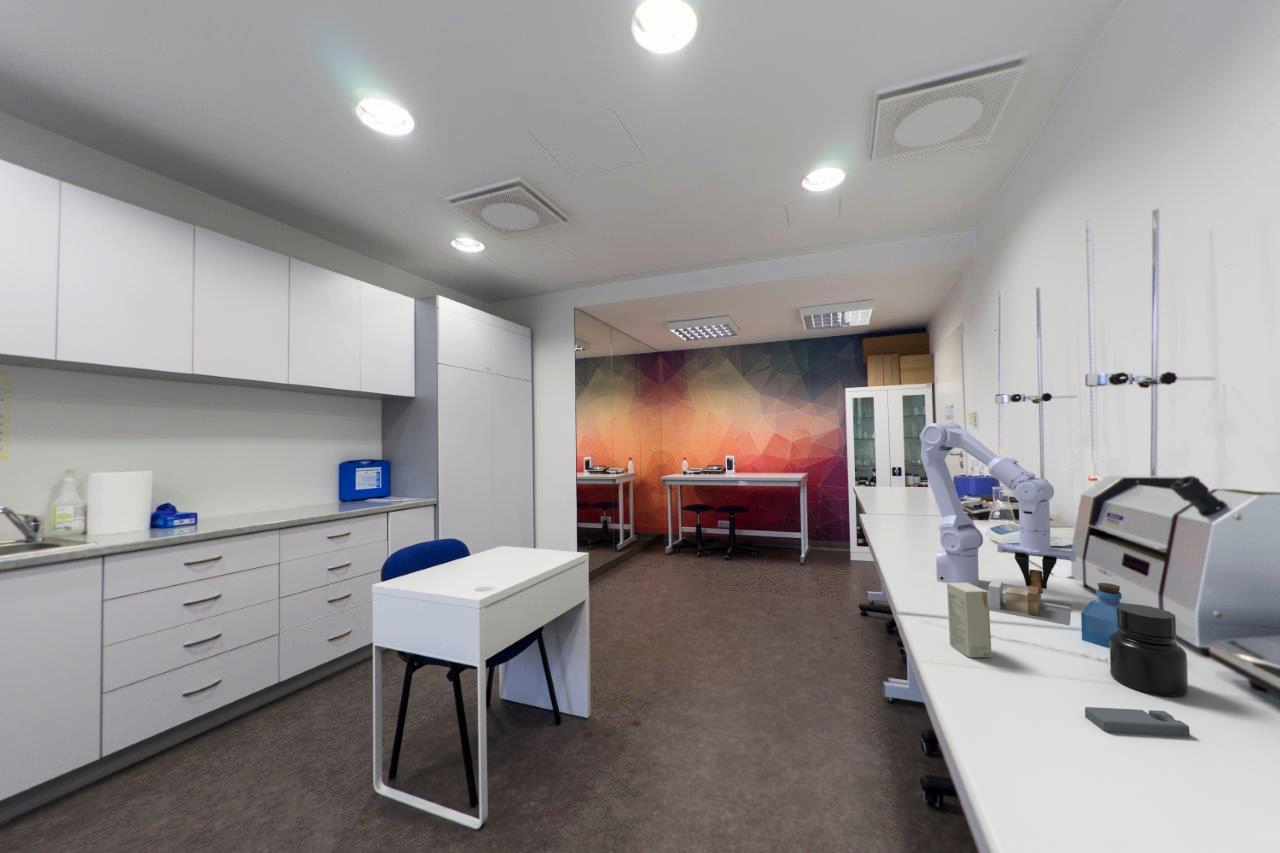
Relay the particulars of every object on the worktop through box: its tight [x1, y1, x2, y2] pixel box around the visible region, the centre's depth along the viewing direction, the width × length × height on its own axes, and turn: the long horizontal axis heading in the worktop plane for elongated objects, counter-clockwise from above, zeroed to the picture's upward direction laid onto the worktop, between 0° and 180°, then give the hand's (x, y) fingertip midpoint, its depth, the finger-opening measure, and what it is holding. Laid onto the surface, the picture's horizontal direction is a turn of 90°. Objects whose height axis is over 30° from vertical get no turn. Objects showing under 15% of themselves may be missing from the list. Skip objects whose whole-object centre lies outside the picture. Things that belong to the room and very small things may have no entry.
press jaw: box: [1027, 569, 1044, 615], centre depth 113 cm, size 2×13×7 cm, turn 138°
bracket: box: [1084, 706, 1191, 739], centre depth 70 cm, size 4×10×2 cm, turn 82°
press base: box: [988, 579, 1072, 627], centre depth 113 cm, size 14×16×6 cm
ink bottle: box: [1108, 603, 1189, 697], centre depth 81 cm, size 10×9×12 cm
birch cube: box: [1005, 587, 1028, 613], centre depth 112 cm, size 4×4×4 cm
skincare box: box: [946, 583, 993, 658], centre depth 94 cm, size 6×4×12 cm
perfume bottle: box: [1080, 582, 1126, 649], centre depth 94 cm, size 6×6×12 cm
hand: (1036, 586), depth 117 cm, fingers closed on press jaw, 2 cm apart
